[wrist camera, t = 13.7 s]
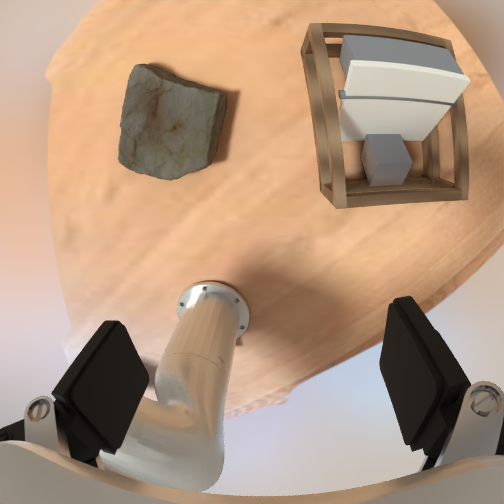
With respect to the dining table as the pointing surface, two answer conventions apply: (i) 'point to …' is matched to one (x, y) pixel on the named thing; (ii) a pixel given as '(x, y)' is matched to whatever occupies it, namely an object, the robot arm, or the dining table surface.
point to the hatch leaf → (395, 87)
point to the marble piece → (168, 124)
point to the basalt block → (385, 159)
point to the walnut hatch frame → (330, 135)
